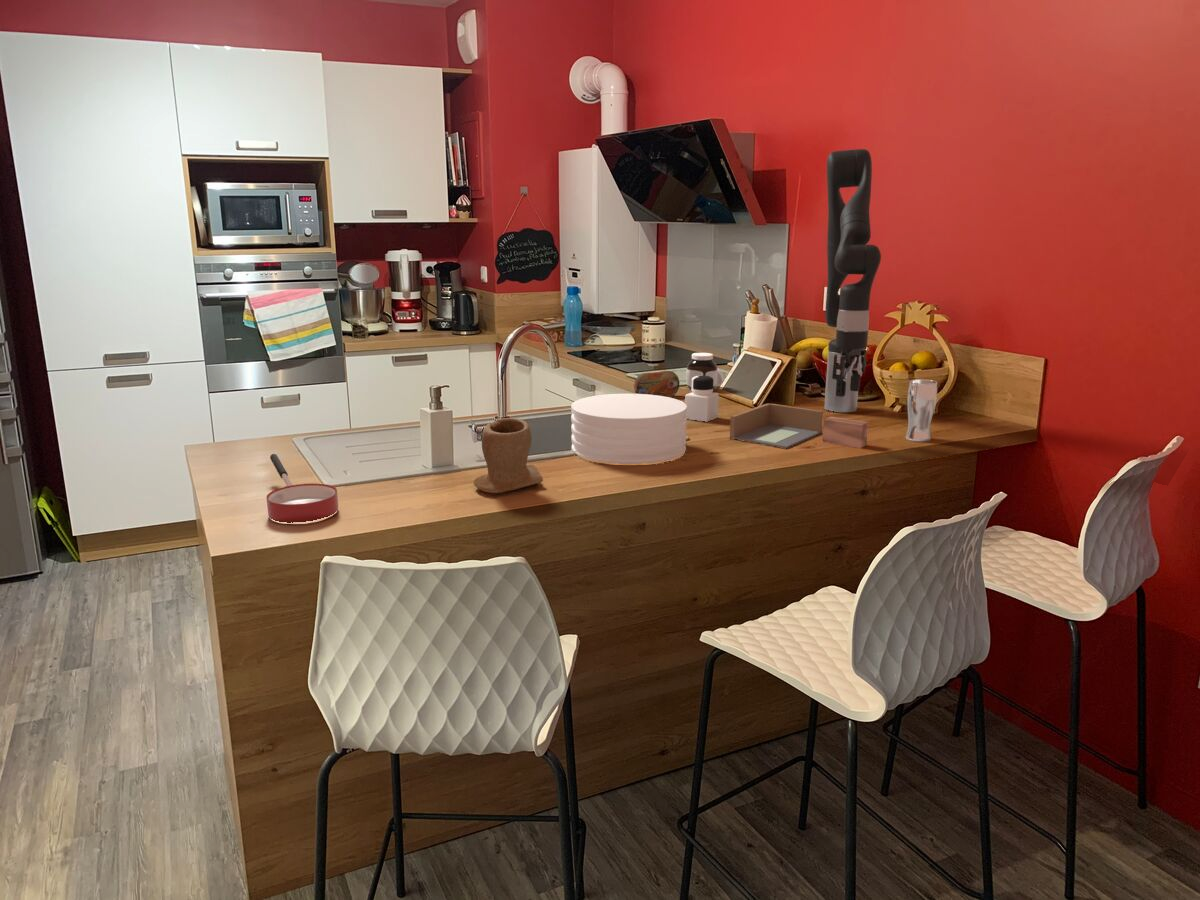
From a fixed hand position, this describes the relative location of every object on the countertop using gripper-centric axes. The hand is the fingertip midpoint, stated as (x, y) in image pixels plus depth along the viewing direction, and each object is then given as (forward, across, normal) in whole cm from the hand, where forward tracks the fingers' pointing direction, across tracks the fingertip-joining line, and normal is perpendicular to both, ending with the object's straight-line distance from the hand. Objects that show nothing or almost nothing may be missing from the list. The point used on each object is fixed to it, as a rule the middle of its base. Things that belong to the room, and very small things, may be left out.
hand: (847, 393), depth 223 cm
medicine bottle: (+13, -1, -43) cm, 45 cm away
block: (+13, 0, 0) cm, 13 cm away
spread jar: (+13, -38, -65) cm, 76 cm away
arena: (+13, +4, -17) cm, 22 cm away
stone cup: (+14, +79, -40) cm, 89 cm away
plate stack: (+14, +39, -39) cm, 56 cm away
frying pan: (+14, +114, -69) cm, 134 cm away
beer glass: (+13, -16, +13) cm, 25 cm away
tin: (+13, -16, -69) cm, 72 cm away
